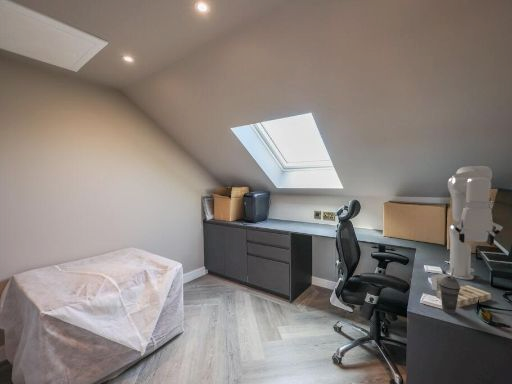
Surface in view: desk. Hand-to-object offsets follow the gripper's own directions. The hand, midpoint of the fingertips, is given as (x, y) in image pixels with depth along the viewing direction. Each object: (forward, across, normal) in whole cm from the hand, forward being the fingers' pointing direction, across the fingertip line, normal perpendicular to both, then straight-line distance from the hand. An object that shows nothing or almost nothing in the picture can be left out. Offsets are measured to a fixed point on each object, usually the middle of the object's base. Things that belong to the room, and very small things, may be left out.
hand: (475, 243), depth 108 cm
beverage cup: (+30, +11, +8) cm, 33 cm away
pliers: (+30, -9, -62) cm, 70 cm away
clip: (+30, +9, -17) cm, 35 cm away
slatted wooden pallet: (+30, +1, -9) cm, 31 cm away
